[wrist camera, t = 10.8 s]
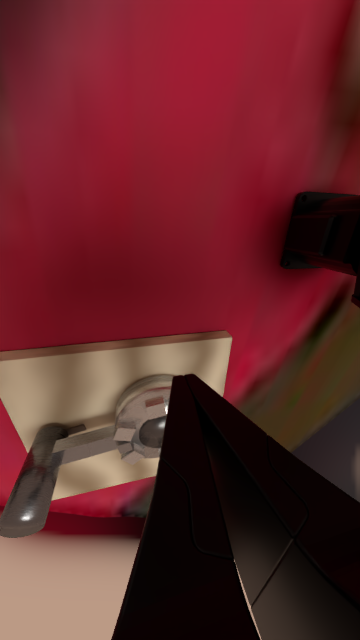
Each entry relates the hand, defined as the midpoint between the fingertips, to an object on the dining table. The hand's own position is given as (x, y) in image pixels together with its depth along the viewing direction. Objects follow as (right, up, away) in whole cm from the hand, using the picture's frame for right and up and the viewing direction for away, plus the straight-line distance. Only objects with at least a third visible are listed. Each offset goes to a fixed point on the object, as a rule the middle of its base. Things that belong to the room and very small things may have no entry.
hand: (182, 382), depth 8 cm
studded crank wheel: (-6, -8, +14) cm, 17 cm away
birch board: (-6, -9, +17) cm, 20 cm away
